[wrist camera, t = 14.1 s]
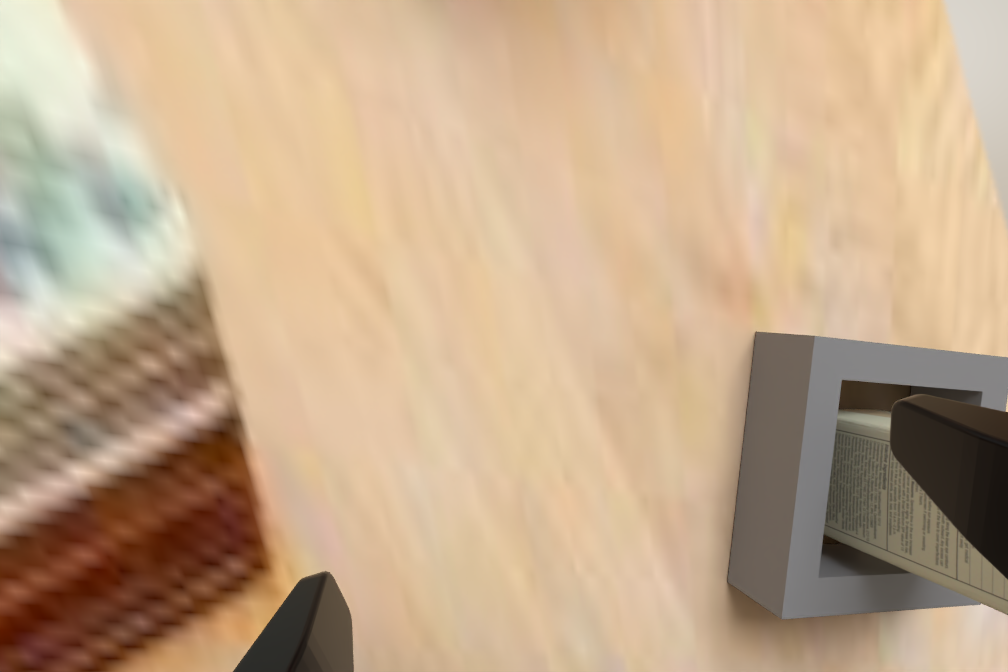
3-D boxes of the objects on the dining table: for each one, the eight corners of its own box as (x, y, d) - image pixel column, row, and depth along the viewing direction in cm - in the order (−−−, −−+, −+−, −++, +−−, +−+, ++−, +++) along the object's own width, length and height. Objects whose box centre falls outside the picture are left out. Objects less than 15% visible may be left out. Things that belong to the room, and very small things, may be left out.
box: (868, 516, 26) (1231, 659, 16) (792, 524, 25) (1133, 684, 15) (876, 401, 26) (1249, 469, 16) (799, 403, 25) (1151, 478, 14)
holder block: (912, 572, 28) (980, 604, 25) (727, 582, 24) (781, 619, 21) (939, 352, 27) (1012, 357, 24) (756, 331, 24) (814, 336, 21)
